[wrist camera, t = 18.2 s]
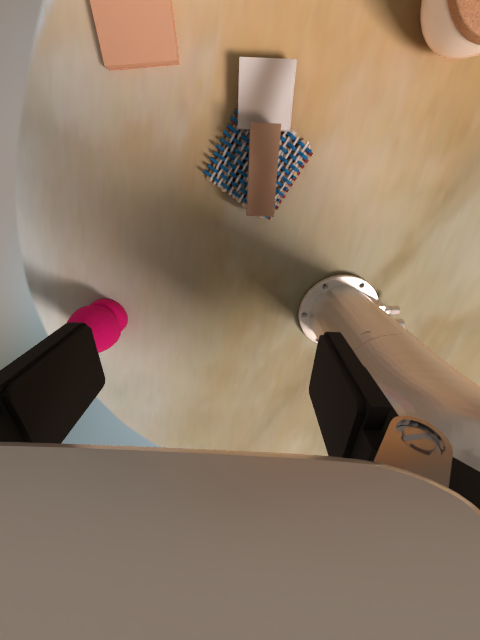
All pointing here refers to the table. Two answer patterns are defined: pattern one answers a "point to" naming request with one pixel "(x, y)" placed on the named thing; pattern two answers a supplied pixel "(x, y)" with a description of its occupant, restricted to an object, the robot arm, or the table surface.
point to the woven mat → (241, 155)
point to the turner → (264, 123)
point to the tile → (135, 33)
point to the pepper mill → (102, 321)
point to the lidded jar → (451, 27)
